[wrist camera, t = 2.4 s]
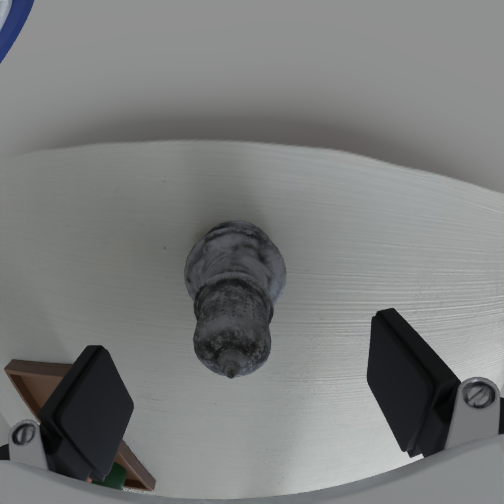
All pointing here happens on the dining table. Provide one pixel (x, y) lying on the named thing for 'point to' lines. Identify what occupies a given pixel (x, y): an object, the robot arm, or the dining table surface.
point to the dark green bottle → (114, 477)
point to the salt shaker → (234, 296)
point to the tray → (39, 390)
